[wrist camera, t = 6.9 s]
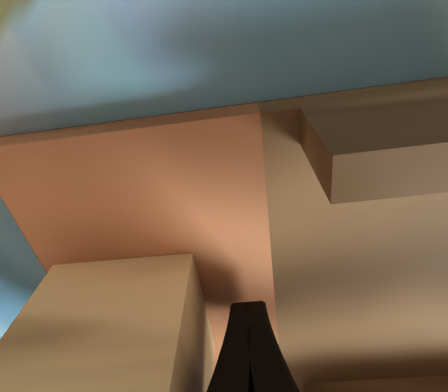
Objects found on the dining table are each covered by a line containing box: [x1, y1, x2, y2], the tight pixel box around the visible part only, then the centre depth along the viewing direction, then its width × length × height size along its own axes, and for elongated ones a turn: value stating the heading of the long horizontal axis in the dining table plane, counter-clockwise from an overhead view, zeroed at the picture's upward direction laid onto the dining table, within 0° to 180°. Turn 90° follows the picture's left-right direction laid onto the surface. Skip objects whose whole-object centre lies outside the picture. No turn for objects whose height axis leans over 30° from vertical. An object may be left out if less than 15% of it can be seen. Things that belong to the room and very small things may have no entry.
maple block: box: [0, 253, 215, 392], centre depth 10 cm, size 5×5×5 cm
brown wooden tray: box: [0, 77, 448, 392], centre depth 10 cm, size 14×23×4 cm, turn 98°
